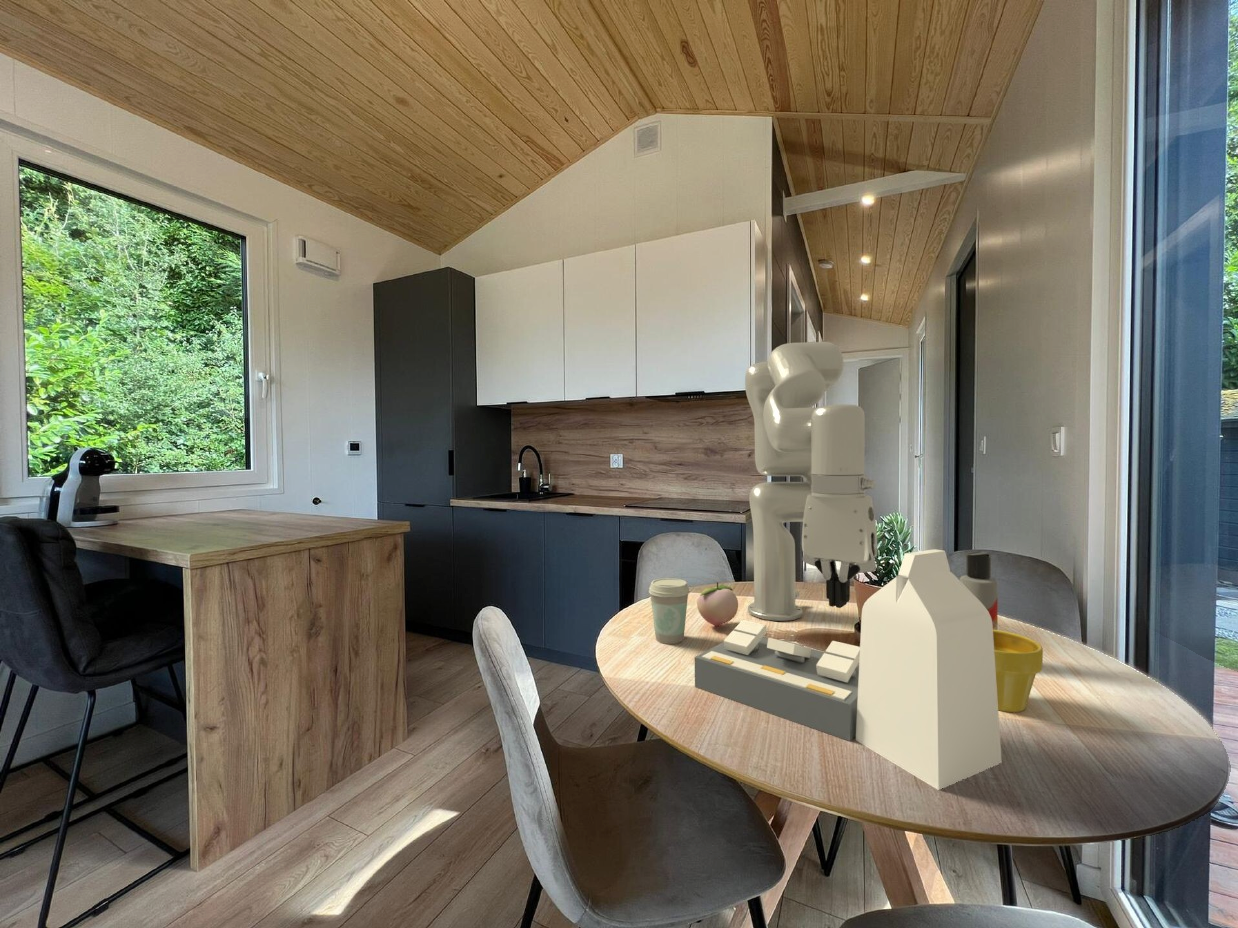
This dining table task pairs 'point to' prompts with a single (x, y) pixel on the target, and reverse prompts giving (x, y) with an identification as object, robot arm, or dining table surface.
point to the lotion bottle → (982, 583)
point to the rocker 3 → (839, 661)
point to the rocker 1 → (745, 637)
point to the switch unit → (781, 686)
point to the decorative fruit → (717, 605)
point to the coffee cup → (669, 609)
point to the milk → (928, 674)
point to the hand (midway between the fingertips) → (838, 604)
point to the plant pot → (1015, 669)
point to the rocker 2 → (789, 647)
